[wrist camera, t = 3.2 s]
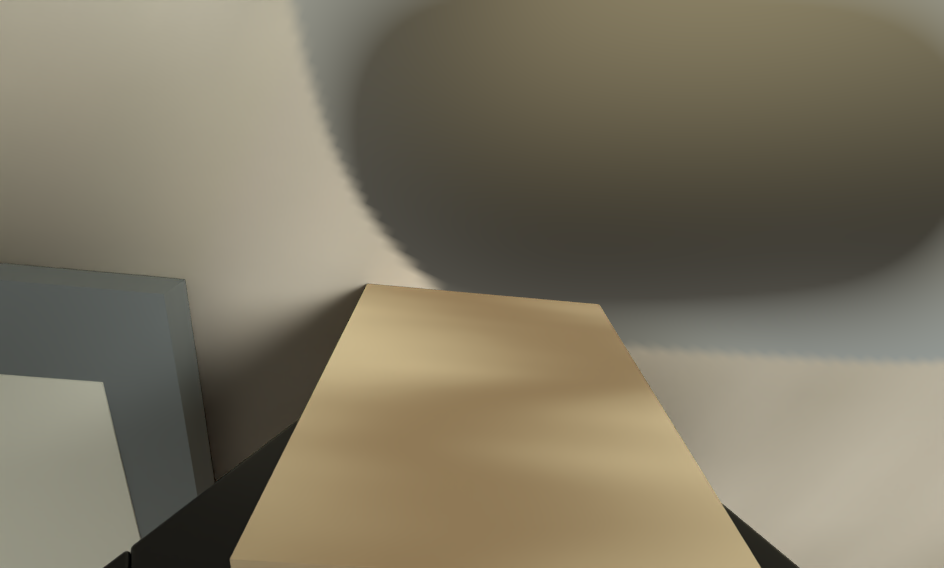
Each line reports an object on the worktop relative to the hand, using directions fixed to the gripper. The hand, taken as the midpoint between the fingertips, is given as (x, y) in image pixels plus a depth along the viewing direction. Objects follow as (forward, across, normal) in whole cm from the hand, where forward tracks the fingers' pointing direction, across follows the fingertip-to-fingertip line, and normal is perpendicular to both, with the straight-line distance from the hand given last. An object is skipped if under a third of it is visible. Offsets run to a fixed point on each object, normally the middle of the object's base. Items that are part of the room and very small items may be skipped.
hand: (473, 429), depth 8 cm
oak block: (+1, 0, 0) cm, 1 cm away
